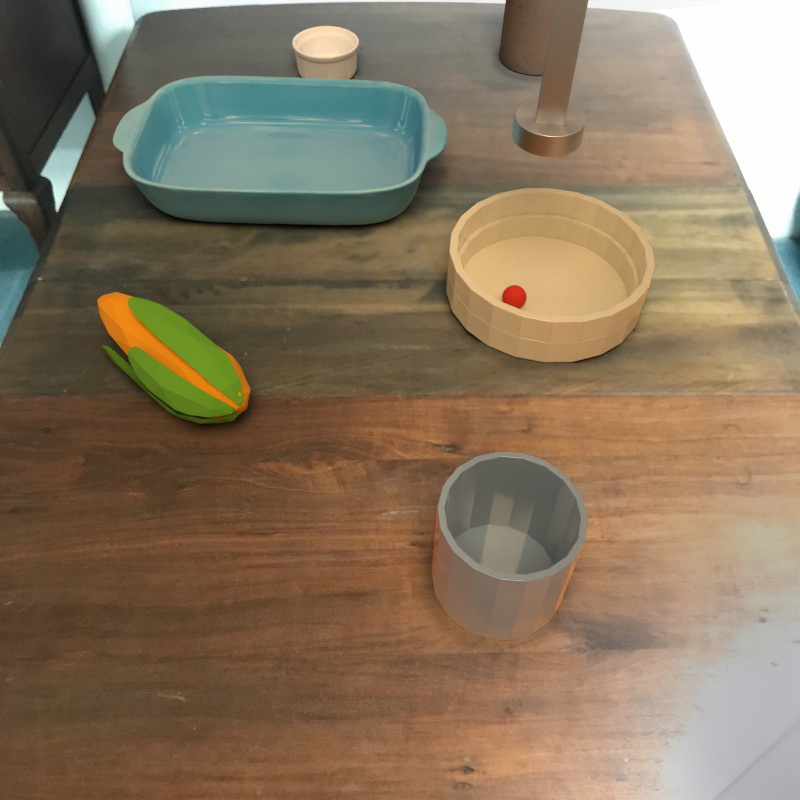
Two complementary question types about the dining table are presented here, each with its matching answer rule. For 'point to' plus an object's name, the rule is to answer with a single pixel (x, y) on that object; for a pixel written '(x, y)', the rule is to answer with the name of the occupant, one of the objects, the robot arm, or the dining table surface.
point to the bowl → (548, 273)
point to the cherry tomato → (514, 296)
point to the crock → (506, 543)
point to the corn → (174, 360)
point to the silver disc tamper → (555, 90)
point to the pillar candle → (525, 35)
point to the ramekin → (326, 52)
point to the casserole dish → (280, 149)
